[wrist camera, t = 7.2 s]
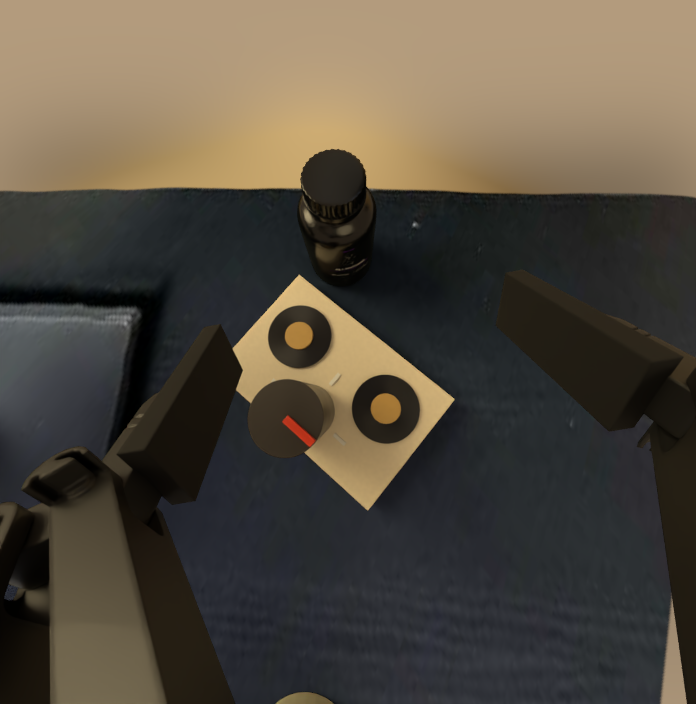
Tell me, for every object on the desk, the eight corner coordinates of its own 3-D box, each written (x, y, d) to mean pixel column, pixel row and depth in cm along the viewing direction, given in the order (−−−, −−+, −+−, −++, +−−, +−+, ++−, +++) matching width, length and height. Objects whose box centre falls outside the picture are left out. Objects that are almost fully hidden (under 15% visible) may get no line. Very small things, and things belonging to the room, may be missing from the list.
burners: (255, 340, 28) (253, 339, 27) (297, 294, 28) (296, 292, 28) (390, 458, 25) (391, 459, 25) (433, 404, 26) (434, 404, 25)
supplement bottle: (349, 299, 30) (343, 238, 19) (301, 267, 31) (265, 190, 20) (383, 251, 31) (398, 163, 19) (335, 222, 32) (320, 120, 20)
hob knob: (270, 414, 26) (229, 422, 18) (305, 373, 27) (281, 363, 19) (310, 450, 26) (286, 476, 17) (345, 407, 26) (339, 413, 18)
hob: (215, 383, 30) (201, 381, 27) (303, 284, 31) (298, 273, 28) (357, 513, 27) (356, 526, 24) (446, 399, 28) (455, 399, 26)
